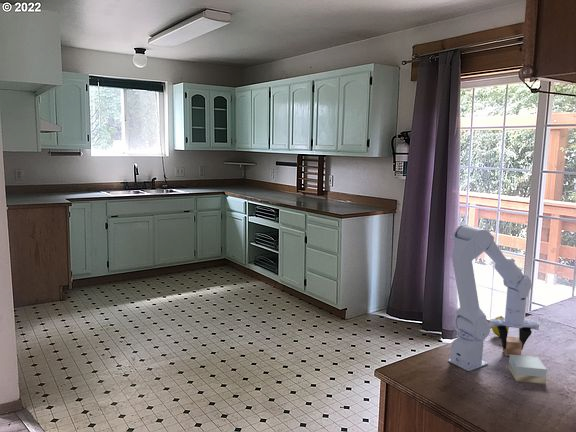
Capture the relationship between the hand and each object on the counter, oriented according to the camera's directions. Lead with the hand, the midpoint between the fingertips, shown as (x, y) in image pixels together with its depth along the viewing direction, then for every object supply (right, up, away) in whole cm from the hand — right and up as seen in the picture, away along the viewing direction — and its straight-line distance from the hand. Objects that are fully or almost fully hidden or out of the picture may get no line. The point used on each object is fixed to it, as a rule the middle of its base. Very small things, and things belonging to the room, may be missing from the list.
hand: (512, 348), depth 154 cm
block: (0, -2, 0) cm, 2 cm away
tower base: (-2, -5, -14) cm, 15 cm away
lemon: (+2, 0, +14) cm, 14 cm away
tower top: (-2, -2, -14) cm, 14 cm away
